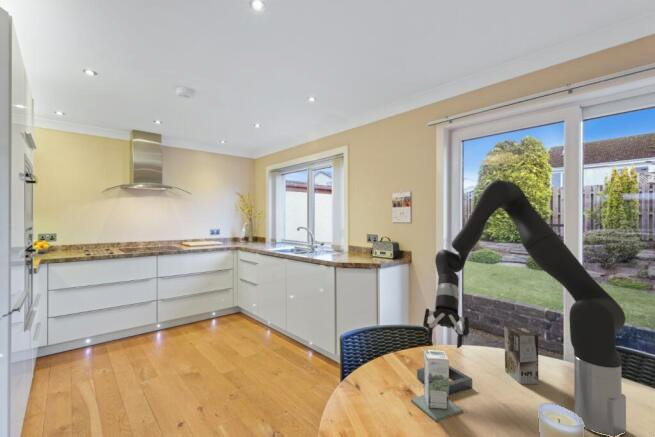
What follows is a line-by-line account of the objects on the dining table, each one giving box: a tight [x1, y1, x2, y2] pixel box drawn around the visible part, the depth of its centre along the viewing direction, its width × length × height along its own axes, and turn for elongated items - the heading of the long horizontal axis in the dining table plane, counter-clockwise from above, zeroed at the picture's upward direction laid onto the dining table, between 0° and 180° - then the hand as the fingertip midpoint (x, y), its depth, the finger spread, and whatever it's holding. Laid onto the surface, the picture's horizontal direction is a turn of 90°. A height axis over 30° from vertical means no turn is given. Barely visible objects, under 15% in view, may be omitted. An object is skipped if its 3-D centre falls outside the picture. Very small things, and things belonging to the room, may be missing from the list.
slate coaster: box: [410, 394, 464, 422], centre depth 87 cm, size 10×10×1 cm
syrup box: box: [423, 349, 450, 409], centre depth 87 cm, size 6×6×14 cm
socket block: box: [416, 365, 473, 396], centre depth 99 cm, size 12×12×3 cm
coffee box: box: [503, 325, 540, 385], centre depth 103 cm, size 9×6×16 cm
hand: (444, 343), depth 97 cm, fingers open, 8 cm apart
